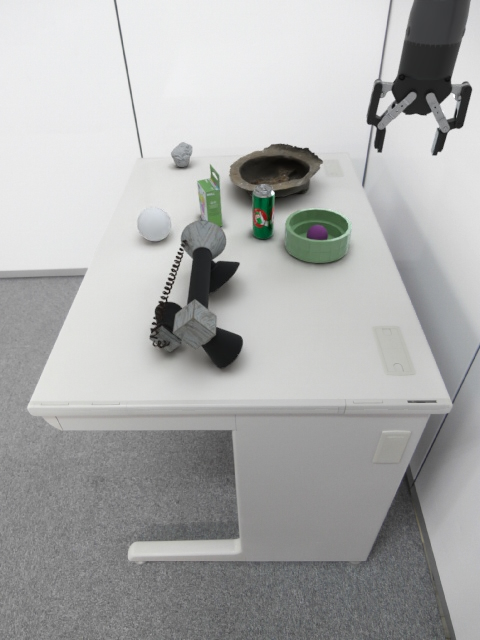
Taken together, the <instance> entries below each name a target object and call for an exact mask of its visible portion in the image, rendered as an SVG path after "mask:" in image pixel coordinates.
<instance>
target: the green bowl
mask: <svg viewBox="0 0 480 640" xmlns="http://www.w3.org/2000/svg"><path fill="white" fill-rule="evenodd" d="M314 225H321V226H323V227H324V228H325V229H326V230H327V233H328V238H327V240H313V239H308V238H307V231H308V230H309V228H310V227H312V226H314ZM352 229H353V224H352V222H351V220H350V219H349V218H348V217H347V216H346V215H344V214H343V213H341V212H339V211H336V210H333V209H329V208H321V207H309V208H302V209H298V210H296V211H294V212H293V213H291V214H290V215H289V216H288V217H286V220H285V223H284V240H283V241H284V242H283V245H284V248H285V250H286V251H287V252H288V254H289V255H290V256H292V257H294V258H296V259H298V260H301V261H303V262H306V263H315V264H322V263H323V264H324V263H331V262H335V261H338V260H339V259H341V258H343V257H344V256H346V254H347V252H348V251H349V248H350V247H349V246H350V241H351V236H352V231H353V230H352Z"/></svg>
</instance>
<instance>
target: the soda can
mask: <svg viewBox="0 0 480 640" xmlns="http://www.w3.org/2000/svg"><path fill="white" fill-rule="evenodd" d="M251 198H252V200H251V201H252V202H251V203H252V204H251V205H252V206H251V208H252V214H251V215H252V217H251V219H252V223H251V225H252V226H251V227H252V235H253V236H254V237H255V238H256V239H258V240H268V239H270V238H271V237H273V235H274V231H275V230H274V229H275V203H276V201H275V199H276V197H275V192H274V190H273V187H272V186H270V185H266V184H261V185H257V186H255V188H254V191H253V193H252V196H251Z"/></svg>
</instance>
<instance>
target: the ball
mask: <svg viewBox="0 0 480 640" xmlns="http://www.w3.org/2000/svg"><path fill="white" fill-rule="evenodd" d="M136 227H137V230H138V233H139V234H140V235H141V237H143V238H144V239H146V240H147V241H151V242H159V241H160V242H161V241H162V240H164V239H166V238H167V237H168V235H169V234H170V232H171V229H172V220H171V216H170V215H169V214H168V212H167V211H166V210H164V209H163V208H161V207H159V206H148V207H146V208H145V209H143V210H142V211H140V212H139V215H138V217H137V219H136Z"/></svg>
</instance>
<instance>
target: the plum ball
mask: <svg viewBox="0 0 480 640" xmlns="http://www.w3.org/2000/svg"><path fill="white" fill-rule="evenodd" d="M307 238H308V239H313V240H327V238H328V233H327V230H326V229H325V228H324V227H323V226H321V225H314V226H312V227H310V228H309V230H308V231H307Z"/></svg>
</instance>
